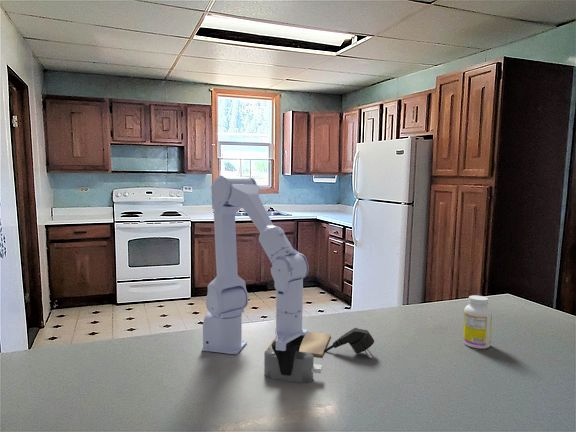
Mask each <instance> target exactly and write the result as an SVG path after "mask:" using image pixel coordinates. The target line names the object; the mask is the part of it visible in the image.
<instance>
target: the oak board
mask: <svg viewBox="0 0 576 432" xmlns="http://www.w3.org/2000/svg"><path fill="white" fill-rule="evenodd" d="M330 338H331V334H330V333H322V332H321V333H320V332H311V331H308V333H307V335H305V336H304V338H303V340H302V343H301V346H300V349H299V352H307V353H311V354H313V356H314V357H321V358H323V357H324V353H325V349H326V348H327V346H328V343H329V342H330ZM276 340H277V339H276V337H275V338H273V340H272V341H271V343H270V344H269V346H268V347H267V350H268V349H272V343H273V342H274V341H276Z"/></svg>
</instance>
